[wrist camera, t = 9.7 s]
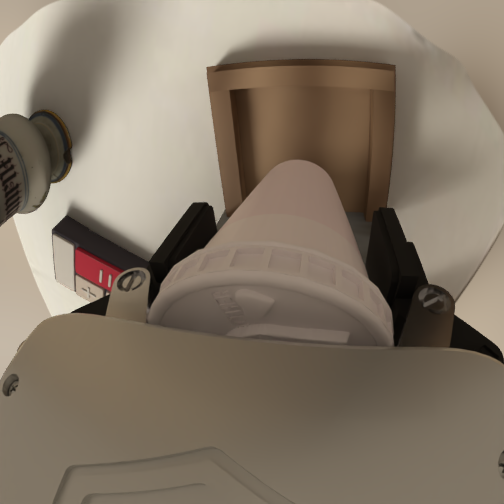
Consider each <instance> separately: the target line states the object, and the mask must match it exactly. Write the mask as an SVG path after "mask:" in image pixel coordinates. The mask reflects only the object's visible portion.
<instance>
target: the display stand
mask: <svg viewBox="0 0 504 504" xmlns="http://www.w3.org/2000/svg"><path fill="white" fill-rule="evenodd" d="M207 79H208V87H209V95H210V102H211V110H212V117H213V125H214V132H215V139H216V147H217V154H218V161H219V168H220V175H221V181H222V188H223V195H224V202H225V208H226V209H225V211H224V213H223V215H222V216H221V218H220V220H219V222H218V223H217V225H216V228H217V232H218V231H219V230H220V229H221V227H222V226H223V225H224V224H225V223H226V222H227V220H228V219H229V218H230V217H231V216H232V214H233V213H234V212H235V211H236V210H237V209H238V207H239V206H240V205H241V204H242V203H243V202H244V200H245V199H246V198H247V197H248V196H249V195H250V193H251V192H252V191H253V190H254V189H255V188H256V186H257V185H258V184H259V183H260V182H261V181H262V180H263V178H264V177H265V176H266V175H267V174H268V173H269V172H270V171H271V170H272V169H273V168H274V167H275V166H277V165H278V164H280V163H282V162H285V161H289V160H305V161H309V162H312V163H314V164H316V165H318V166H320V167H321V168H322V169H323V170H325V171H326V172H327V174H328V175H329V176H330V178H331V179H332V181H333V184H334V186H335V189H336V191H337V193H338V196H339V198H340V201H341V203H342V206H343V208H344V211H345V213H346V216H347V219H348V221H349V224H350V227H351V229H352V232H353V235H354V237H355V240H356V243H357V246H358V249H359V251H360V254H361V257H362V260H363V263H364V265H365V263H366V257H367V251H368V245H369V239H370V232H371V225H372V218H373V212H374V211H378V209H379V207H384V208H387V200H388V193H389V185H390V176H391V166H392V155H393V142H394V126H395V95H396V74H395V65H389V64H381V63H372V62H361V61H347V60H324V59H292V60H269V61H255V62H244V63H234V64H226V65H218V66H211V67H207Z"/></svg>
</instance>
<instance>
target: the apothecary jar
mask: <svg viewBox="0 0 504 504" xmlns="http://www.w3.org/2000/svg"><path fill="white" fill-rule="evenodd" d="M71 148H72V144H71V139H70V136H69V132H68V130H67V128H66V126H65V124H64V123H63V121H62V120H61V119H60V117H59V116H58V115H56V114H55V113H54V112H52V111H49V110H40V111H37V112H35V113H34V114H33V115H32V116H31V117H30V118H29V120H28V119H27V118H25V117H24V116H21V115H19V114H7V115H4V116H2V117H1V118H0V226H1V225H2V224H3V223H5V222H6V221H7V220H8V219H9V218H11V217H12V216H13V215H14V214H16V213H19V214H27V213H31V212H33V211H35V210H37V209H38V208H39V207H40V206H41V205H42V204H43V202H44V201H45V199H46V197H47V195H48V192H49V189H50V184H51V183H57V182H60V181H61V180H63V179H64V178H65V177H66V176H67V174H68V172H69V170H70V168H71V164H72V161H71V157H70V149H71Z"/></svg>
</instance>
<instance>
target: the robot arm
mask: <svg viewBox="0 0 504 504" xmlns="http://www.w3.org/2000/svg"><path fill="white" fill-rule="evenodd" d="M216 233H217V228H216V222H215V216H214V211H213V207H212V206H209V205H208V203H207V202H198V203H192V205H191V206H190V207H189V209H188V210H187V211H186V212H185V214H184V215H183V216H182V218H181V219H180V220H179V221H178V223H177V224H176V225H175V227H174V228H173V229H172V231H171V232H170V233H169V235H168V236H167V237H166V239H165V240H164V242H163V243H162V244H161V246H160V247H159V248H158V250H157V251H156V253H155V254H154V255H153V257H152V258H151V259H150V261H149V263H150V264H149V265H148V267H147V268H146V269H144V268H140V267H138V268H132V269H128V270H126V271H124V272H122V273H121V274H120V275H118V277H117V278H116V279H115V281H114V283H113V286H112V290H111V294H109V295H106V296H104V297H102V298H100V299H98V300H96V301H93V302H91V303H89V304H87V305H85V306H83V307H81V308H78V309H76V310H75V311H73V312H71V313H68V314H62V315H56V316H53V317H50V318H48V319H46V320H44V321H43V322H41V323H40V324H39V325H38V326H37V327H36V328H35V329H34V330H33V332H32V333H31V334H30V335H29V336H28V338H27V339H26V340H25V341H23V342H22V343H21V345H20V346H19V348H18V350H17V353H16V355H15V356H14V358H13V359H12V361H11V363H10V364H9V366H8V367H7V369H6V371H5V373H4V374H3V376H2V378H1V380H0V504H504V358H503V355H502V352H501V351H500V349H499V348H498V347H497V346H496V345H495V344H494V343H493V342H492V341H490V340H489V339H487V338H486V337H485V336H483V335H482V334H481V333H479V332H478V331H476V330H475V329H474V328H472V327H471V326H470V325H468V324H467V323H466V322H464V321H463V320H461V319H460V318H458V317H457V316H456V315H454V312H455V302H454V299H453V297H452V296H451V295H450V293H449V292H448V291H446V290H445V289H444V288H442V287H439V286H437V285H432V284H428V281H427V278H426V276H425V273H424V270H423V267H422V264H421V262H420V259H419V256H418V254H417V251H416V249H415V246H414V244H413V243H412V242H407V241H406V238H405V235H404V233H403V230H402V228H401V225H400V223H399V220H398V218H397V215H396V213H395V211H394V209H393V208H384V207H379V209H378V211H374V212H373V218H372V225H371V232H370V239H369V245H368V251H367V257H366V263H365V268H366V271H367V274H368V278H369V280H370V281H371V282H372V283H373V284H375V285H376V286H377V287H378V288H379V290H380V292H381V293H382V295H383V297H384V299H385V300H386V302H387V304H388V305H389V307H390V309H391V311H392V319H393V328H394V335H393V339H394V346H395V347H383V346H348V345H327V344H311V343H297V342H284V341H273V340H262V339H253V338H243V337H235V336H226V335H219V334H211V333H204V332H197V331H190V330H183V329H176V328H170V327H164V326H158V325H152V324H148V314H149V310H150V308H151V305H152V303H153V302H154V300H155V299H156V297H157V295H158V294H159V291H160V286H161V283H162V282H163V280H164V279H165V278H166V276H167V275H168V273H169V272H170V271H171V269H172V268H173V266H174V265H176V264H177V263H179V262H180V261H182V260H183V259H185V258H186V257H188V256H189V255H191V254H193V253H194V252H196V251H197V250H200V249H204V248H205V246H206V245H207V244H208V243H209V241H210V240H211V239H212V238H213V237H214V236H215V235H216Z"/></svg>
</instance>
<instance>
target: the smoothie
mask: <svg viewBox="0 0 504 504" xmlns="http://www.w3.org/2000/svg"><path fill="white" fill-rule="evenodd" d="M148 324H152V325H158V326H164V327H170V328H176V329H183V330H190V331H197V332H204V333H211V334H219V335H226V336H235V337H243V338H253V339H262V340H273V341H284V342H297V343H311V344H327V345H348V346H383V347H395V346H394V339H393V335H394V328H393V319H392V311H391V309H390V307H389V305H388V304H387V302H386V300H385V299H384V297H383V295H382V293H381V292H380V290H379V288H378V287H377V286H376V285H375V284H373V283H372V282H371V281H370V280H369V278H368V274H367V271H366V268H365V265H364V263H363V260H362V257H361V254H360V251H359V249H358V246H357V243H356V240H355V237H354V235H353V232H352V229H351V227H350V224H349V221H348V219H347V216H346V213H345V211H344V208H343V206H342V203H341V201H340V198H339V196H338V193H337V191H336V189H335V186H334V184H333V181H332V179H331V178H330V176H329V175H328V174H327V172H326V171H325V170H323V169H322V168H321V167H320V166H318V165H316V164H314V163H312V162H309V161H305V160H289V161H285V162H282V163H280V164H278V165H277V166H275V167H274V168H273V169H272V170H271V171H270V172H269V173H268V174H267V175H266V176H265V177H264V178H263V180H262V181H261V182H260V183H259V184H258V185H257V186H256V188H255V189H254V190H253V191H252V192H251V193H250V195H249V196H248V197H247V198H246V199H245V200H244V202H243V203H242V204H241V205H240V206H239V207H238V209H237V210H236V211H235V212H234V213H233V214H232V216H231V217H230V218H229V219H228V220H227V222H226V223H225V224H224V225H223V226H222V227H221V229H220V230H219V231H218V232H217V233H216V235H215V236H214V237H213V238H212V239H211V240H210V241H209V243H208V244H207V245H206V246H205V248H204V249H200V250H197V251H196V252H194V253H193V254H191V255H189V256H188V257H186V258H185V259H183V260H182V261H180V262H179V263H177V264H176V265H174V266H173V268H172V269H171V271H170V272H169V273H168V275H167V276H166V278H165V279H164V280H163V282H162V283H161V286H160V291H159V294H158V295H157V297H156V299H155V300H154V302H153V303H152V305H151V308H150V310H149V314H148Z"/></svg>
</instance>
